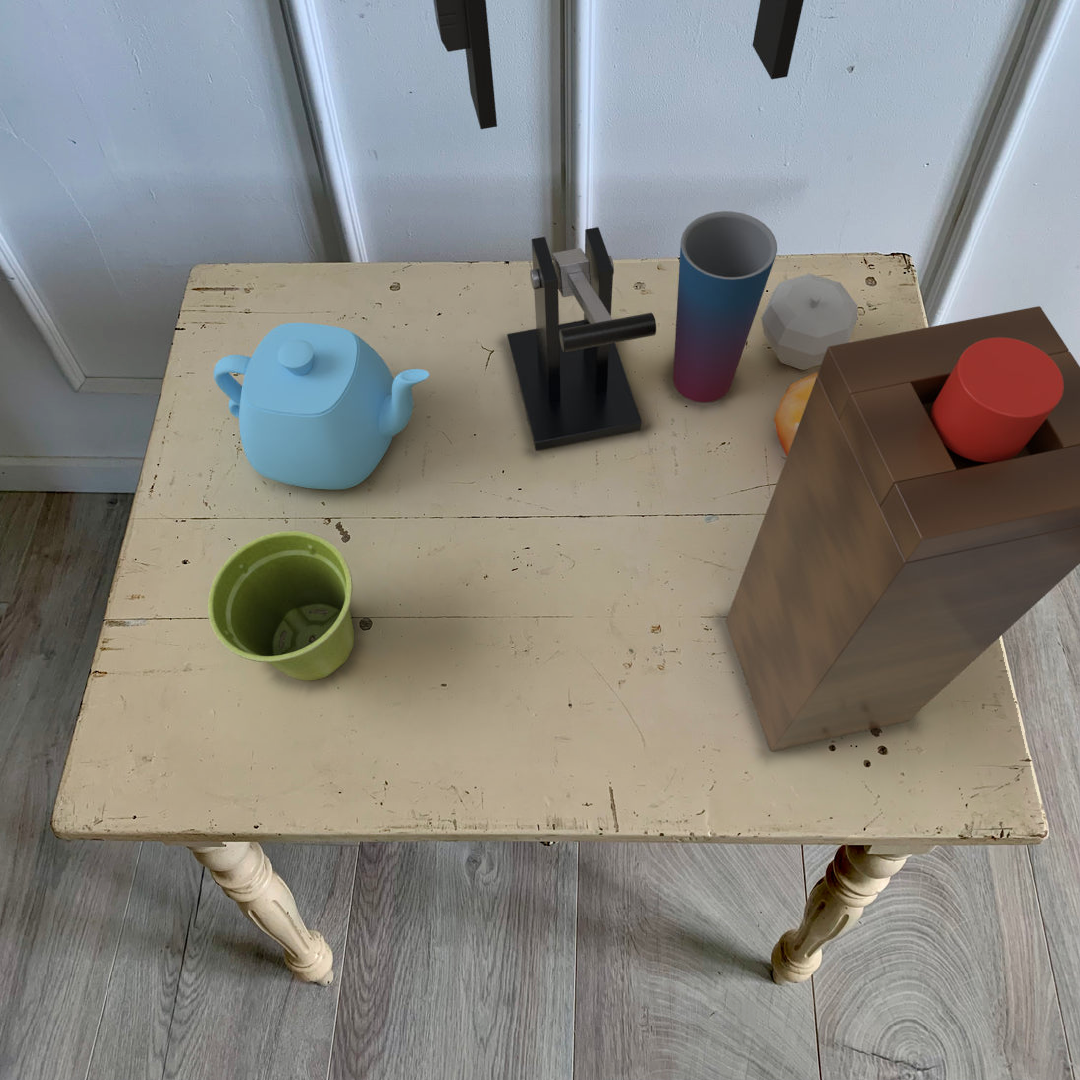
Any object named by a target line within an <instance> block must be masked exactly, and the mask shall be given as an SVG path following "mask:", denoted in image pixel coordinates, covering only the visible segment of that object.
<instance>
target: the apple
mask: <svg viewBox="0 0 1080 1080" xmlns="http://www.w3.org/2000/svg"><path fill="white" fill-rule="evenodd" d="M760 320H761V325H762V330H763V335H764V337H765V339H766V340H767V343H768V344H769V346H770V347H771V349H772V350H773V352H774V353H775V355H776V358H778V360H779V362H780V363H781V364H784V365H786V366H790V367H792V368H796V369H799V370H801V371H805V370H807V369H808V370H809V369H810V368H814V367H817V366H821V364H822V362H823V359H824V356H825V354H826V351H827V348H828V347H829V346H833V345H839V344H844V343H849V342H850V339H851V337H852V335H853V332H854V328H855V326H856V323H857V320H858V304H857V303H856V301H855V300H854V298H853V297H852V296H851V295H850V293H849V292H848V290H847V289H846V287H844V285H843V284H842V283H841V282H840V281H836V280H832V279H829V278H826V277H823V276H819V275H815V274H812V273H806V274H803V275H800V276H797V277H793V278H790V279H787V280H784V281H781V282H779V283H778V285H777V286H776V287H775V289H774V290H773V291H772V293H771V295H770V297H769V299H768V302H767V303H766V306H765V308H764V311H763V313H762V315H761V318H760Z"/></svg>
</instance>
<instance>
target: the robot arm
mask: <svg viewBox="0 0 1080 1080" xmlns="http://www.w3.org/2000/svg"><path fill="white" fill-rule="evenodd" d="M432 1H433V2H432V3H433V6H434V16H435V22H436V26H437V29H438V33H439V37H440V41H441V43H442V44H443V46H444V48H445V49H446V52H447V53H449V52H455V51H461V50H465V55H466V56H465V58H466V66H467V74H468V75H467V76H468V83H469V93H470V96H471V99H472V104H473V107H474V110H475V111H474V112H475V114H476V117H477V122H478V125H479V128H480V130H485V129H491V128H497V127H498V123H497V122H498V120H497V111H496V99H495V86H494V78H493V77H494V76H493V68H492V67H493V66H492V54H491V44H490V35H489V34H490V33H489V32H490V31H489V20H488V9H487V0H432ZM804 1H805V0H759V5H758V10H757V11H758V12H757V18H756V23H755V29H754V34H753V41H752V48H753V49H754V52H755V53H756V54H757V56H758V58H759V60H760V62H761V63H762V65H763V67H764V69H765V70H766V72H767V74H768V76H769V78H770V80H777V79H782V78H788V74H789V70H790V65H791V61H792V57H793V52H794V47H795V44H796V43H795V42H796V38H797V33H798V28H799V25H800V21H801V20H800V19H801V15H802V10H803V7H804Z"/></svg>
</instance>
